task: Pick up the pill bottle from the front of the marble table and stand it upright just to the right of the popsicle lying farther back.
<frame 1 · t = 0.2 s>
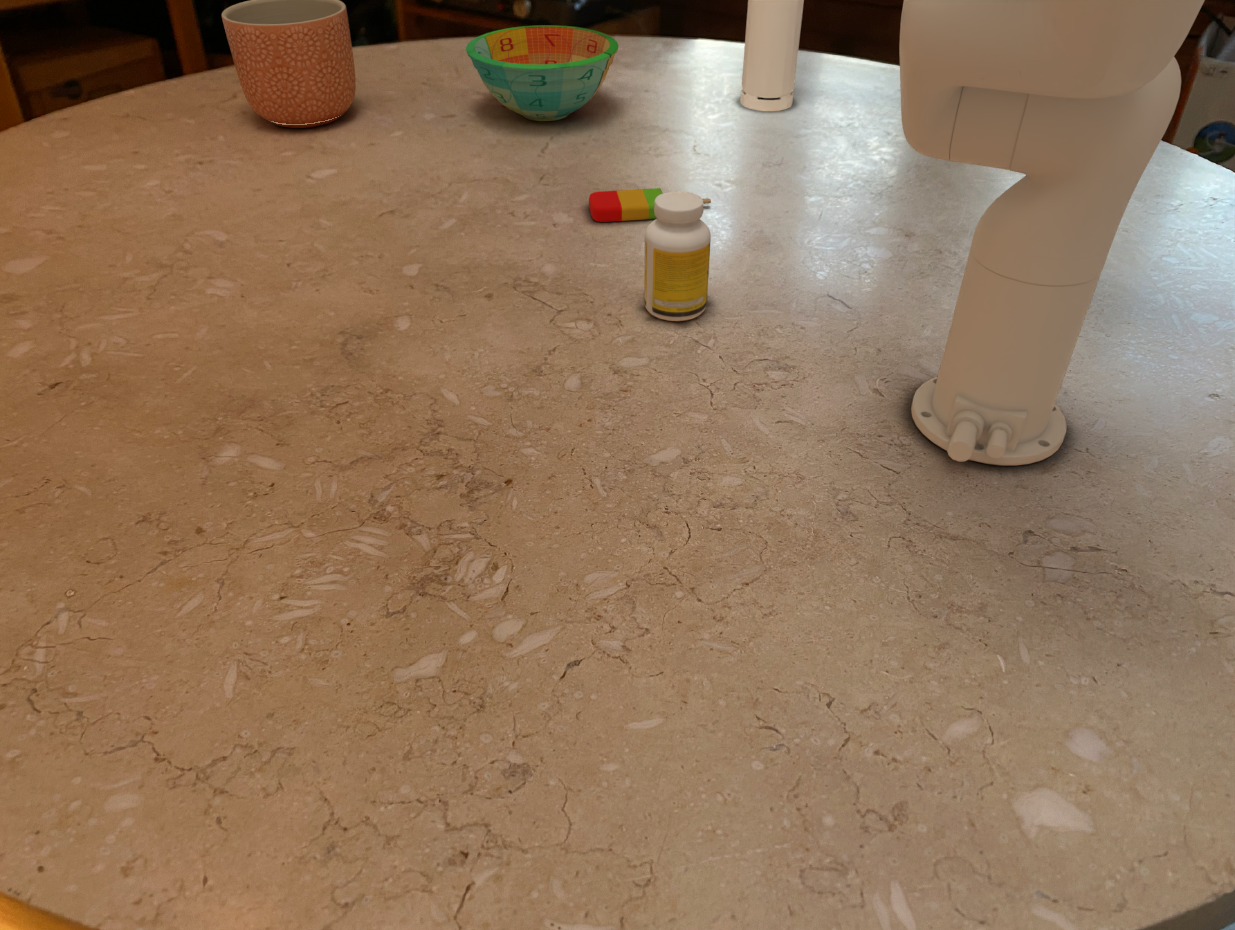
popsicle: (650, 212, 116), on the table
pill bottle: (674, 309, 97), on the table
planter: (307, 119, 142), on the table
bowl: (545, 114, 144), on the table
bottle: (766, 104, 147), on the table
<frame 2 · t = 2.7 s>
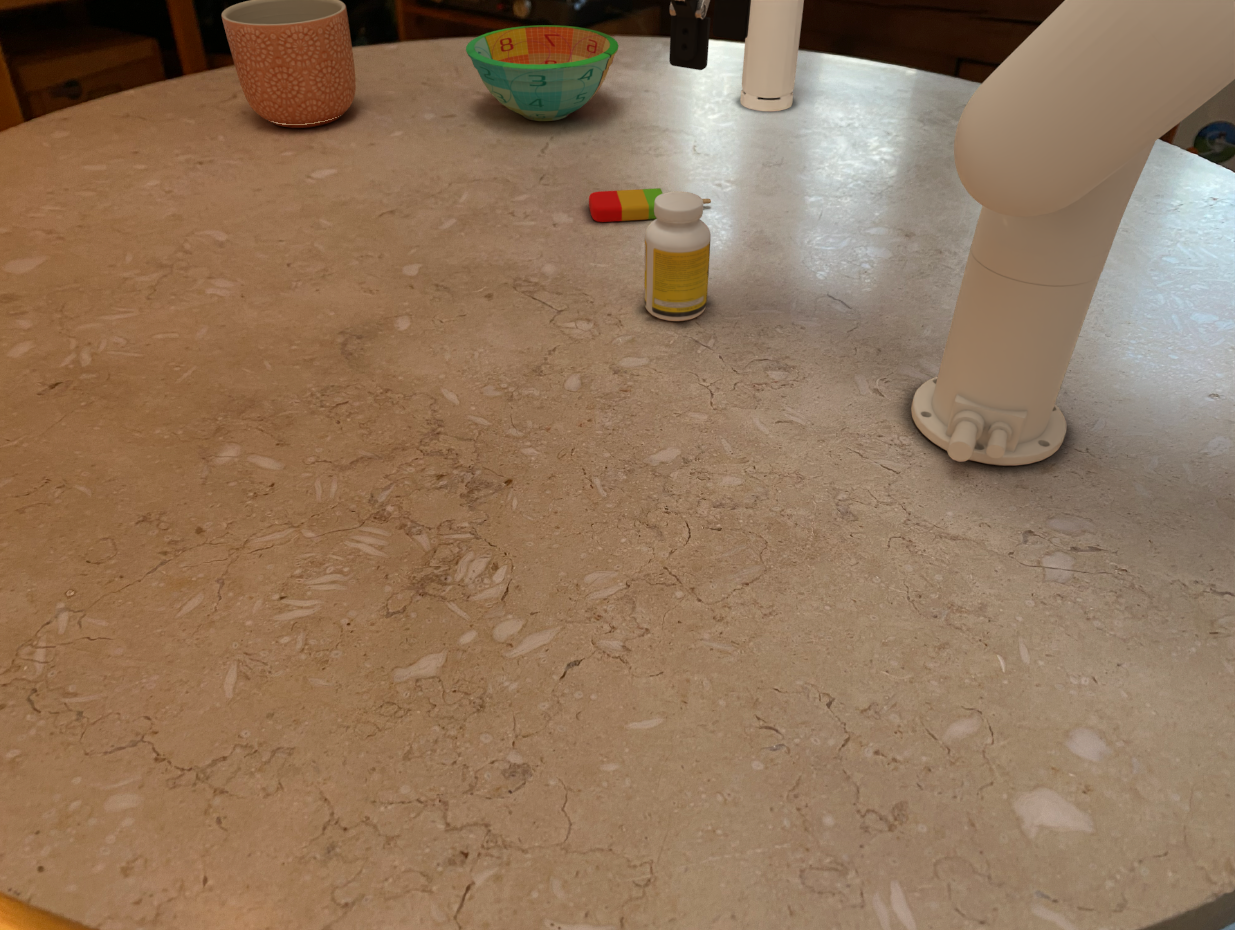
hand: (709, 51, 81), 25 cm above the table, tool pointing down, fingers open, 9 cm apart
nothing on the table moved.
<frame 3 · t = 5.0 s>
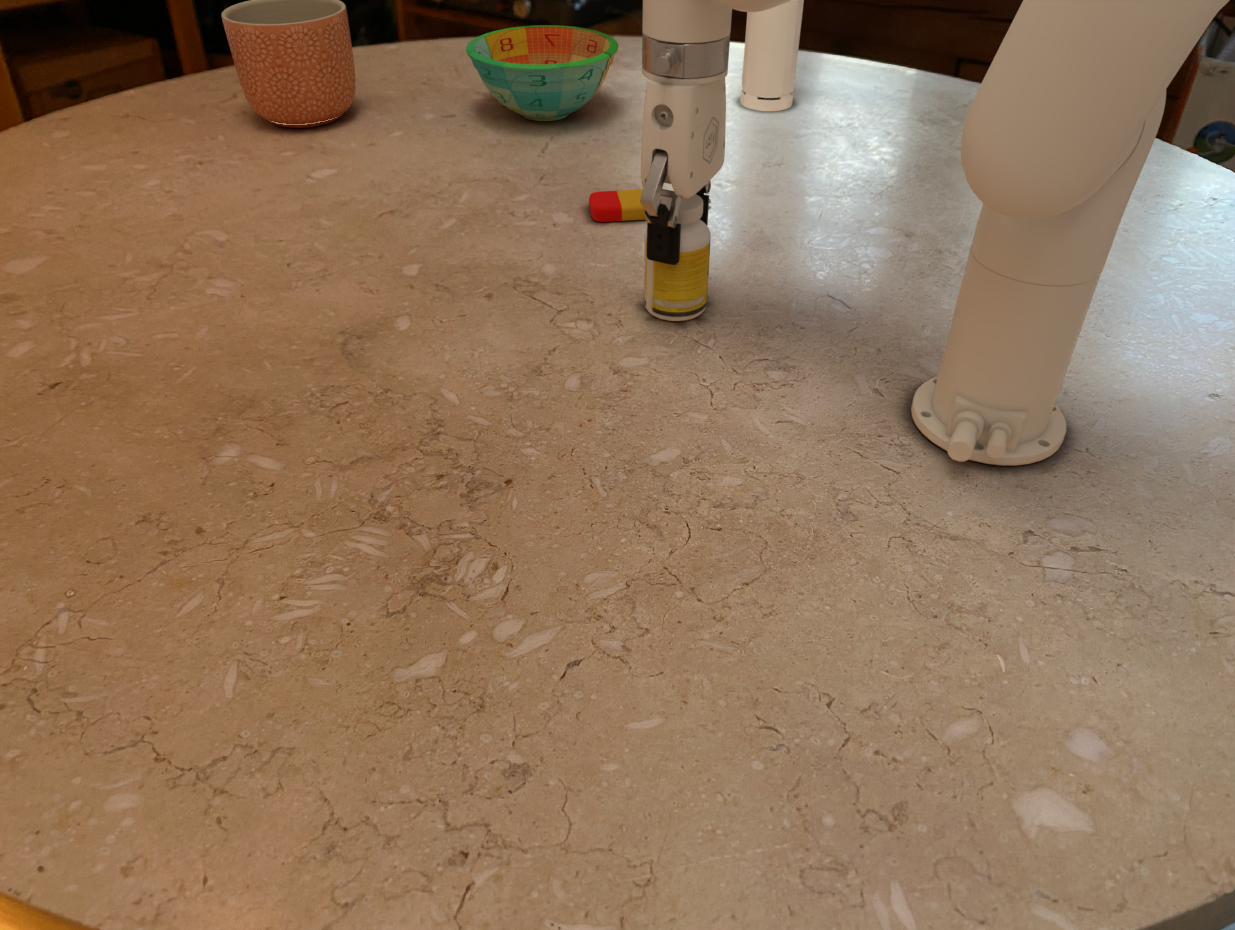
hand: (677, 244, 92), 7 cm above the table, tool pointing down, fingers closed on pill bottle, 6 cm apart
pill bottle: (674, 309, 97), on the table, touching gripper
everything else where it was.
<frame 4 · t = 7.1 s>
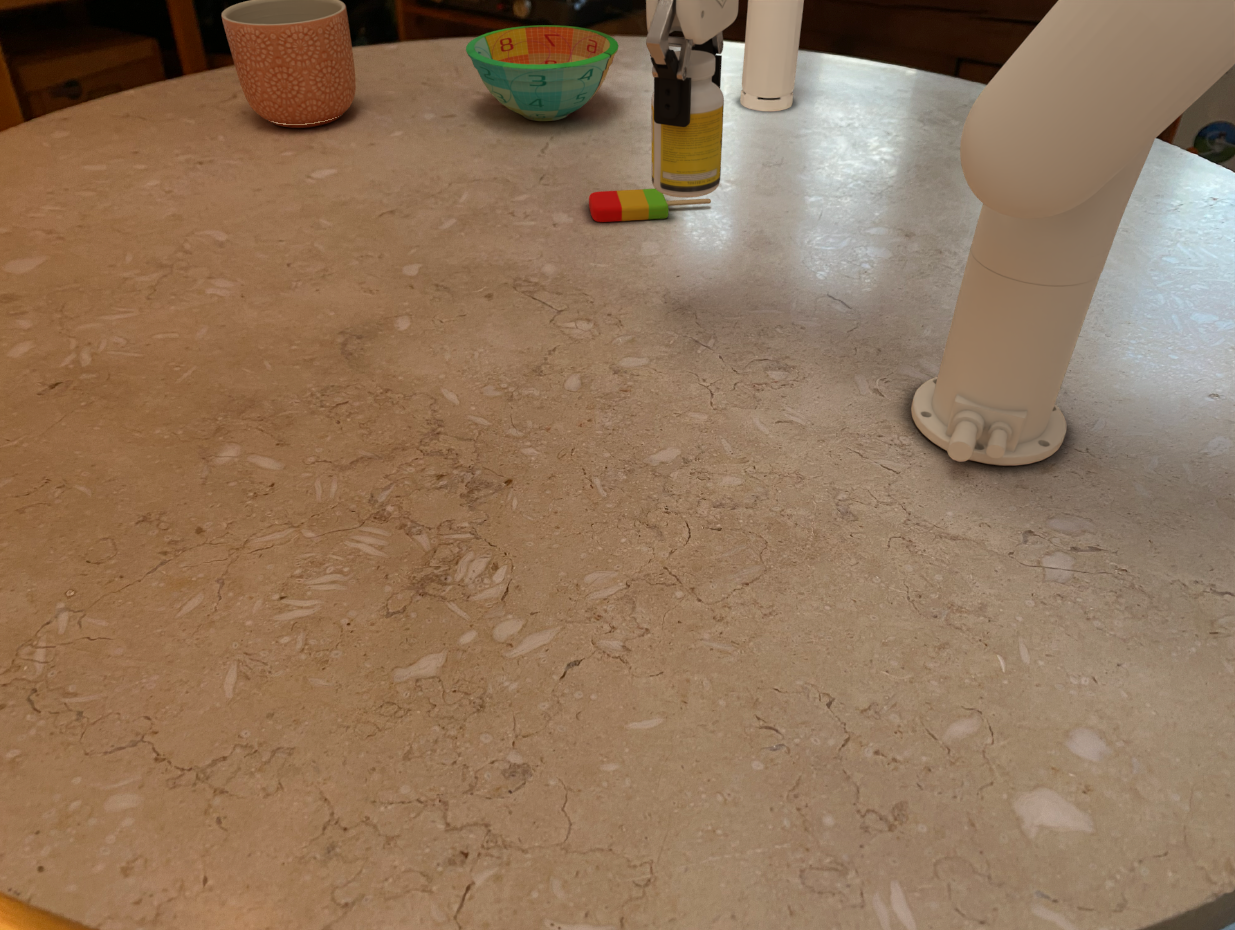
hand: (687, 110, 84), 20 cm above the table, tool pointing down, fingers closed on pill bottle, 6 cm apart
pill bottle: (685, 189, 88), point 13 cm above the table, touching gripper
everything else where it was.
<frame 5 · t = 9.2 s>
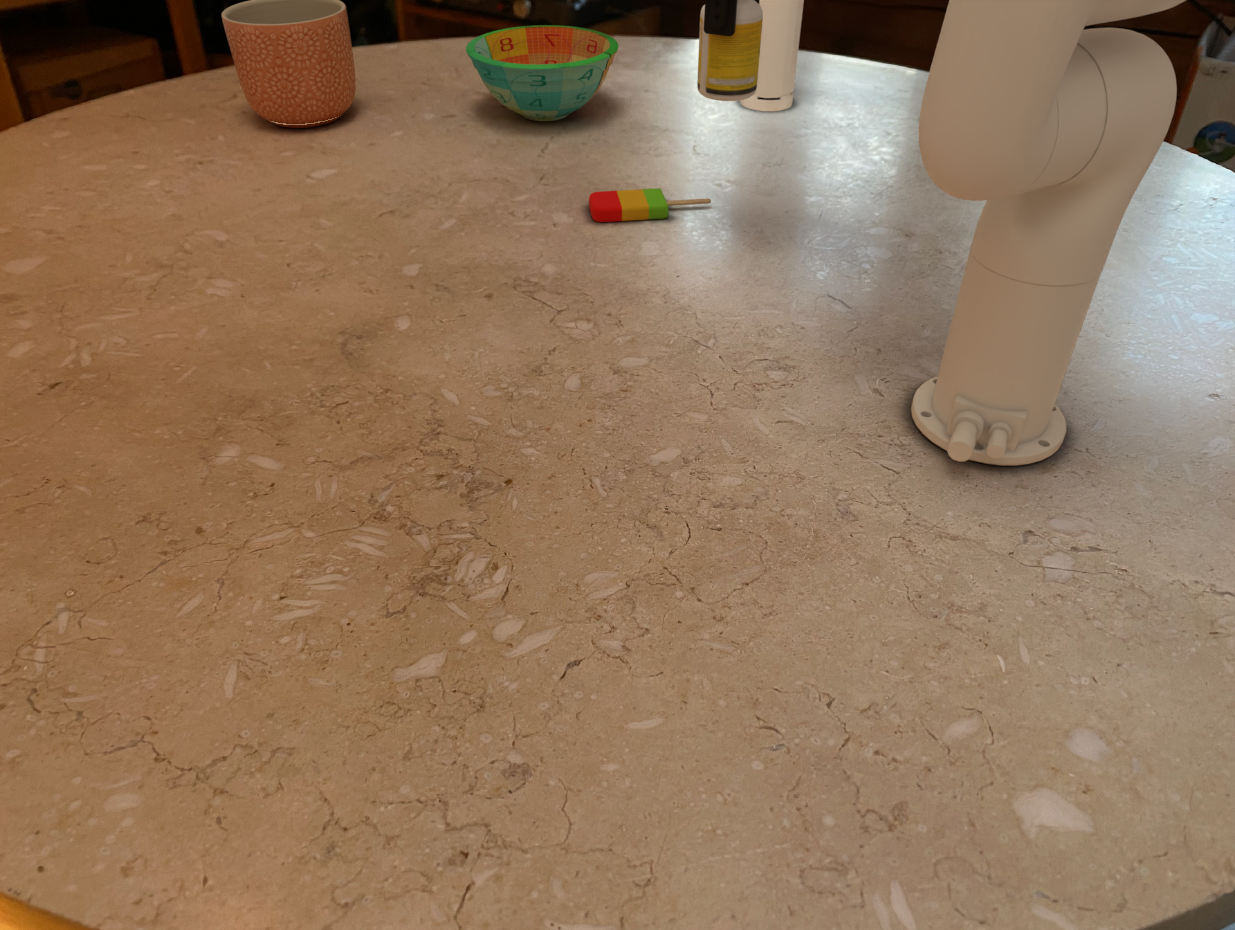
hand: (731, 24, 98), 23 cm above the table, tool pointing down, fingers closed on pill bottle, 6 cm apart
pill bottle: (726, 95, 102), point 15 cm above the table, touching gripper
everything else where it was.
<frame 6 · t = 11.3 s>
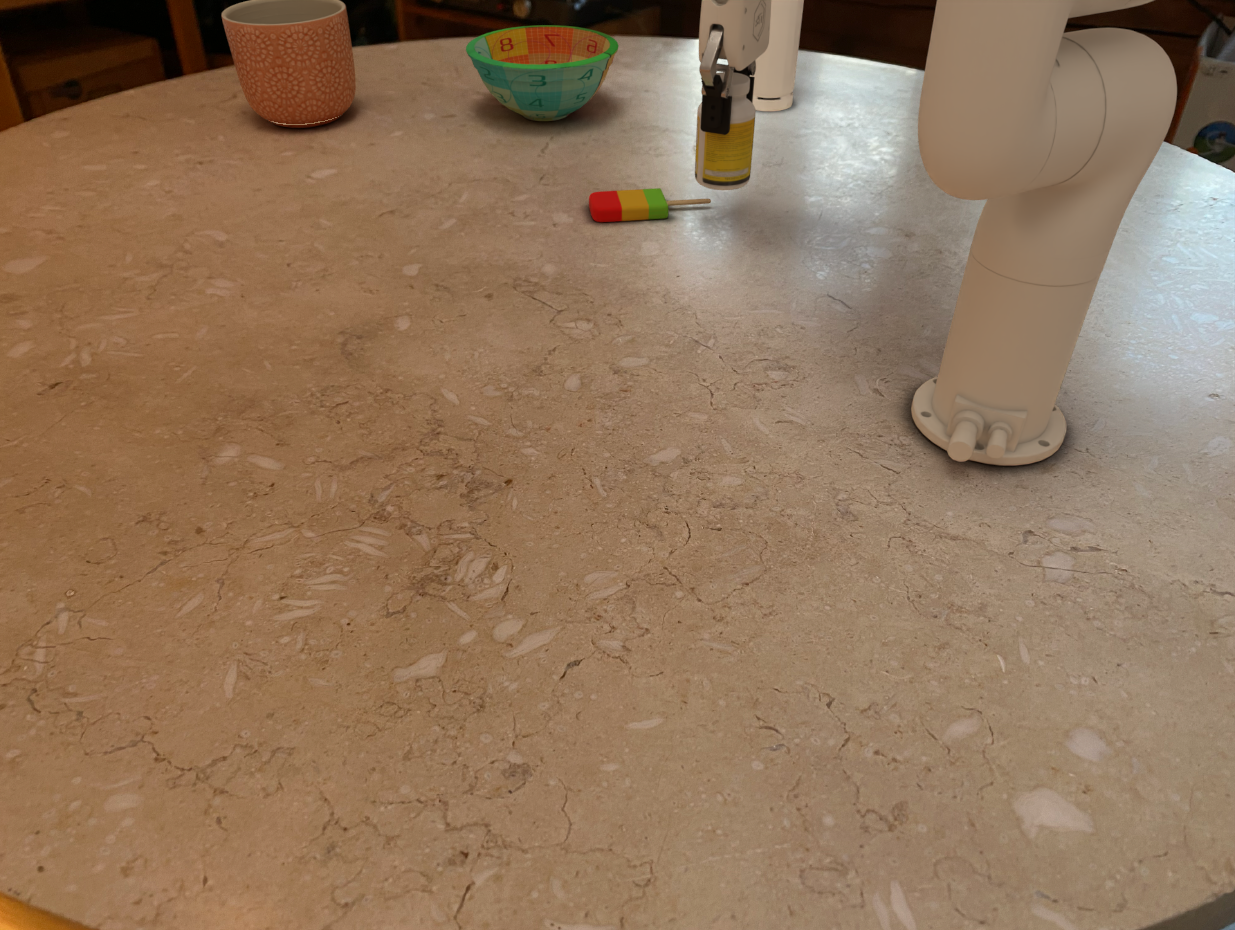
hand: (726, 120, 105), 12 cm above the table, tool pointing down, fingers closed on pill bottle, 6 cm apart
pill bottle: (721, 183, 109), point 5 cm above the table, touching gripper
everything else where it was.
when the fingers open (7 cm above the table, at t = 13.1 s): pill bottle stays where it is, on the table.
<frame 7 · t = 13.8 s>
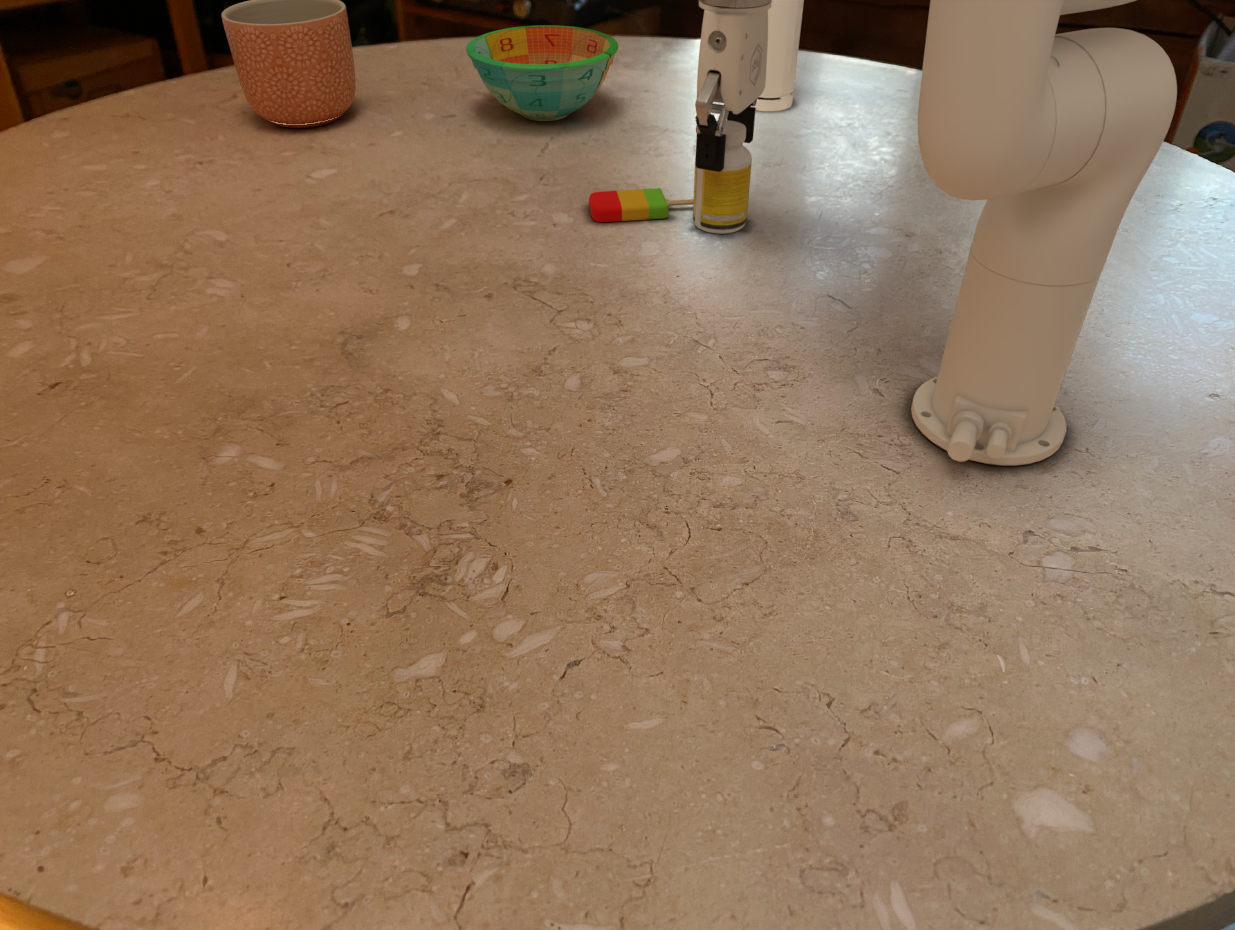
hand: (724, 154, 107), 9 cm above the table, tool pointing down, fingers open, 9 cm apart
pill bottle: (718, 225, 113), on the table
everything else where it was.
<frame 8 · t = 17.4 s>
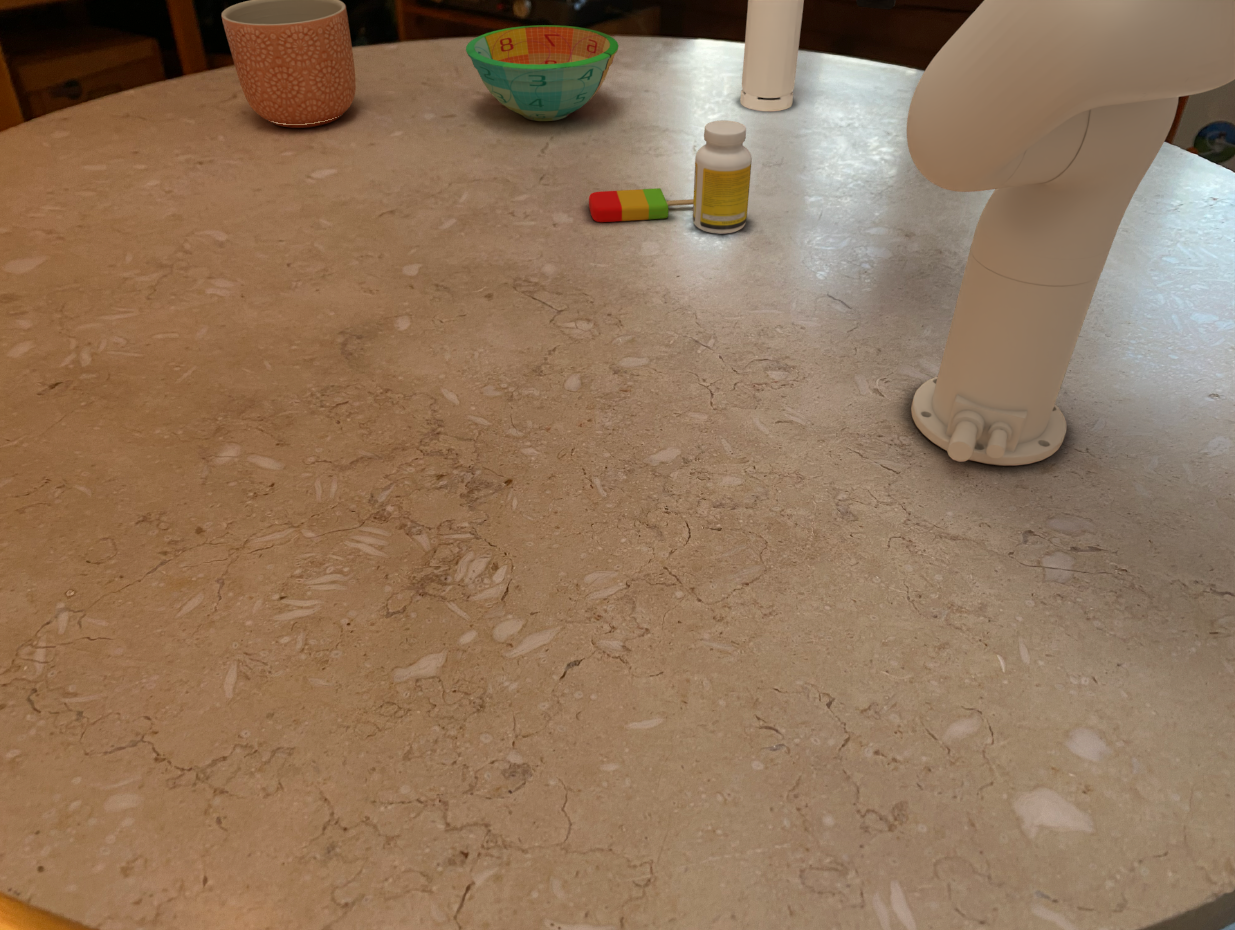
nothing on the table moved.
at the end: pill bottle inside the target area on the table beside the popsicle (0.5 cm from its centre), on the table; pill bottle tilted 0°; popsicle moved 0.2 cm from its start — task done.
